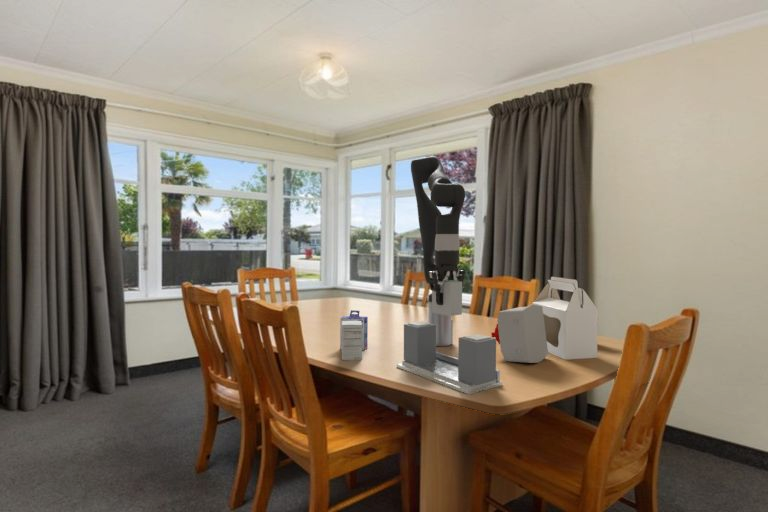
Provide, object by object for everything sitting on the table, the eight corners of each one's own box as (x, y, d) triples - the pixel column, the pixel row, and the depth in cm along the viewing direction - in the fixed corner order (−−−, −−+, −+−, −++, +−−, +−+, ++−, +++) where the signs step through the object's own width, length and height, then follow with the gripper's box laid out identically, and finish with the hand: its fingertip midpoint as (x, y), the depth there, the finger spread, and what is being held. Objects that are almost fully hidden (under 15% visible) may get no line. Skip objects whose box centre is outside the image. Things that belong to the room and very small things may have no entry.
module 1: (421, 356, 152) (422, 320, 151) (435, 360, 146) (436, 323, 146) (403, 359, 147) (403, 323, 147) (417, 364, 141) (417, 326, 141)
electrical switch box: (511, 356, 168) (505, 304, 169) (548, 358, 157) (541, 302, 158) (490, 364, 157) (483, 308, 159) (529, 366, 147) (521, 306, 148)
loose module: (443, 310, 141) (443, 278, 140) (461, 314, 134) (462, 280, 134) (431, 312, 138) (432, 279, 137) (450, 315, 131) (450, 281, 131)
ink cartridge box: (368, 347, 173) (368, 310, 172) (364, 350, 167) (364, 312, 167) (343, 345, 175) (344, 309, 174) (339, 349, 169) (339, 311, 169)
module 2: (477, 374, 132) (477, 333, 131) (495, 380, 126) (496, 337, 126) (458, 379, 127) (458, 336, 127) (476, 385, 121) (477, 340, 121)
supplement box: (341, 355, 161) (341, 320, 160) (361, 354, 161) (361, 320, 161) (341, 360, 153) (341, 324, 153) (362, 360, 154) (362, 324, 154)
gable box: (531, 345, 177) (532, 276, 176) (560, 344, 180) (561, 275, 179) (565, 360, 155) (566, 281, 154) (597, 358, 158) (599, 280, 157)
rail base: (428, 360, 154) (428, 349, 154) (502, 385, 128) (502, 371, 128) (396, 367, 145) (396, 355, 145) (469, 394, 120) (469, 380, 119)
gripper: (454, 248, 143) (454, 300, 143) (421, 248, 134) (420, 304, 135) (472, 249, 137) (471, 303, 137) (438, 249, 128) (437, 307, 129)
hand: (446, 303), depth 136 cm, fingers closed on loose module, 5 cm apart
